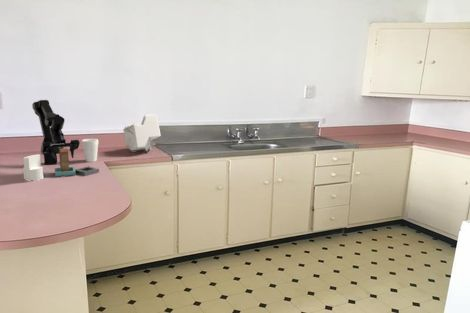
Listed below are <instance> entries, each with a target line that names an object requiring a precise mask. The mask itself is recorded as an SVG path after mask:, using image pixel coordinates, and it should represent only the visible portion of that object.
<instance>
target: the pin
mask: <svg viewBox="0 0 470 313" xmlns="http://www.w3.org/2000/svg"><path fill="white" fill-rule="evenodd" d="M58 156H59V168H60V170H61V172H65V171H69V167H70V161H69V160H70V159H69V149H68V148H67V147H64V148H63V149H59V154H58Z"/></svg>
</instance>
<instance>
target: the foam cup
mask: <svg viewBox="0 0 470 313" xmlns="http://www.w3.org/2000/svg"><path fill="white" fill-rule="evenodd" d="M81 145H82V148H83V154H84V158H85V162H88V163H92V162H96V161H97V160H98V148H99V139H98V138H84V139H82V140H81Z"/></svg>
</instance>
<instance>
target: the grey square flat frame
mask: <svg viewBox="0 0 470 313" xmlns="http://www.w3.org/2000/svg"><path fill="white" fill-rule="evenodd" d="M75 171H76V174H78V175H81V176H84V175H85V176H86V175H87V176H90V174H91V175H94V174H98V172H99V173H100V168H98V167H97V168H96V167H93V166H84V167H81V168H80V167H79V168H75ZM85 176H84V177H85Z"/></svg>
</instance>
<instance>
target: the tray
mask: <svg viewBox="0 0 470 313" xmlns="http://www.w3.org/2000/svg"><path fill="white" fill-rule="evenodd" d="M75 169H76V168H75V166H69V171H65V172H61V170H60V167H55V168H54V177H55V178H61V176H65V177H75V176H74V175H76V171H75Z"/></svg>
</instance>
